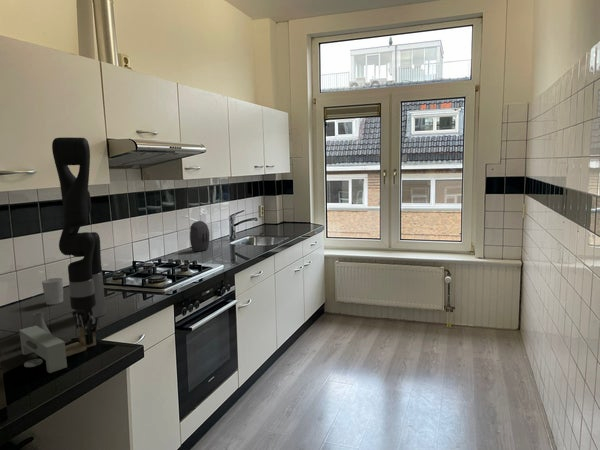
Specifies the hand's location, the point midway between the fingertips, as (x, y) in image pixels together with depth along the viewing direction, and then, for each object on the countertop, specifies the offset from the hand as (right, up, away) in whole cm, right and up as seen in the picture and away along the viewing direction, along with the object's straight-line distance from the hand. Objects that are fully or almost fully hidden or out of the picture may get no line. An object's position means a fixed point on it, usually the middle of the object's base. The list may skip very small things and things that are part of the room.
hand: (87, 342), depth 154 cm
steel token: (-11, -4, -12) cm, 17 cm away
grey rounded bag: (+6, +22, +151) cm, 153 cm away
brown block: (-3, -2, -3) cm, 4 cm away
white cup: (-36, +5, +48) cm, 60 cm away
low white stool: (-9, -3, -10) cm, 14 cm away
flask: (-18, -1, +5) cm, 19 cm away
